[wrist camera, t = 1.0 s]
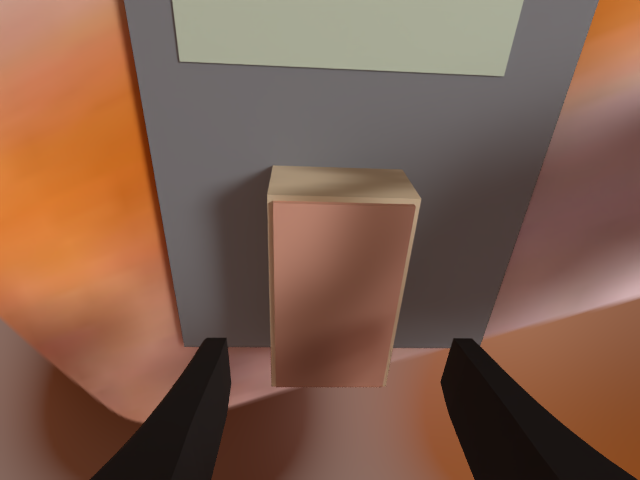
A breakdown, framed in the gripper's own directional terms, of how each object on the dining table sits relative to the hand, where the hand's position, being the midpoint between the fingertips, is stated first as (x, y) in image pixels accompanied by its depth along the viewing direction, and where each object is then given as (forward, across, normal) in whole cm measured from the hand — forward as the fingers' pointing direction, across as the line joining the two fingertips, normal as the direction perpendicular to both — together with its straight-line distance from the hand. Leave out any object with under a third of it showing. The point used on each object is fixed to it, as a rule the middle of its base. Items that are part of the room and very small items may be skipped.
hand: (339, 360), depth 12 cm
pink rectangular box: (+6, 0, 0) cm, 6 cm away
